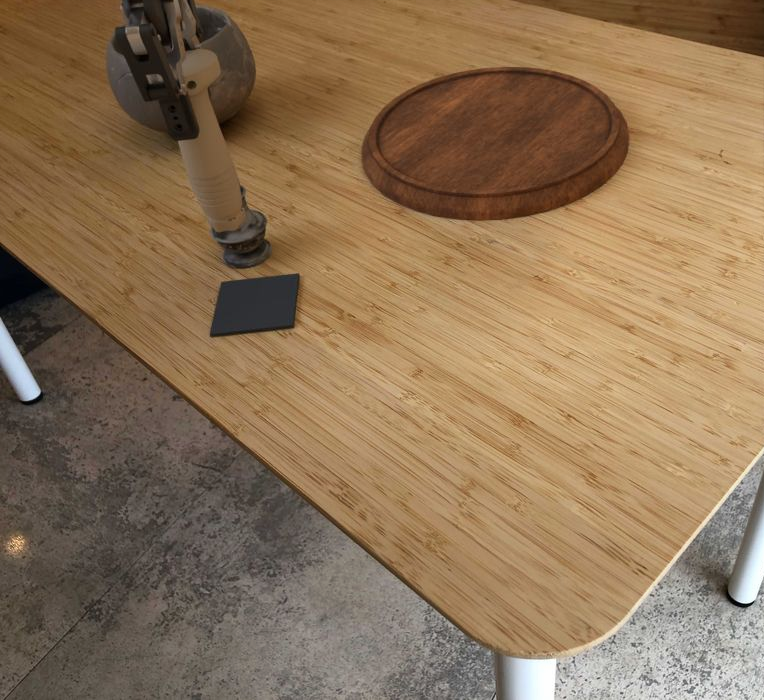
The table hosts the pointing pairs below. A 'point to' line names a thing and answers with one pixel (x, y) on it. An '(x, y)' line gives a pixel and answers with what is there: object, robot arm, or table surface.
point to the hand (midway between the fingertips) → (193, 118)
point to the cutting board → (495, 143)
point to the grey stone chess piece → (245, 239)
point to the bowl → (225, 90)
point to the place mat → (255, 305)
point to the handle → (209, 148)
